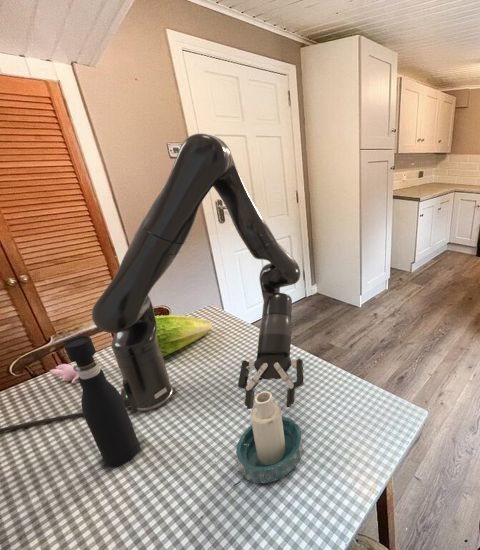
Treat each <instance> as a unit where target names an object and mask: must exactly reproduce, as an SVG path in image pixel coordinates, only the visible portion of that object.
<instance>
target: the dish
mask: <svg viewBox="0 0 480 550" xmlns="http://www.w3.org/2000/svg"><path fill="white" fill-rule="evenodd" d="M282 423H283V431H284V439H285V449H286V451H285V454H284V456H283V458H282V459H281V460H280V461H279V462H277V463H275V464H273V465H264V464H262V463H260V461H259V460H258V456H257V451H256V446H255V440H254V434H253V429H252V425H250V426H249V427H248V428H247V429H246V430H245V431H244V432H243V433H242V435H240V438H239V440H238V442H237V444H236V450H235V451H236V452H235V455H236V458H237V463H238V467H239V470H240V474H241V475H242V476H243V477H244V478H245V479H246V480H249V481H250V482H253V483H255V484H269V483H272V482H276V481H278V480H280V479H283V478H284V477H286V476H287V475H288V474H290V472H291V471H293V469H295V467H296V466H297V464H298V463H299V461H300V459H301V457H302V453H303V441H302V439H303V438H302V430H301V428H300V426H299V424H298V423H297V422H295V421H294V420H293V419H292V418H289V417H286V416H282Z"/></svg>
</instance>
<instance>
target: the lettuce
mask: <svg viewBox="0 0 480 550" xmlns="http://www.w3.org/2000/svg"><path fill="white" fill-rule="evenodd" d="M155 318H156V323H157V339H158V343H159V346H160V349H161V353H162V356H163V358H164V357H166V356H168V355H170V354H173V353H175V352H177V351H179V350H181V349H183V348H185V347H187V346H188V345H190V344H192V343H194V342H196V341H197V340H199V339H201V338H202V337H203V336H205V335H206V334H208V333H209V332H210V331H211V330H212V328H213V325H212V323H211V321H210V320H208V319H204V318H198V317H194V316H190V315H189V316H188V315H181V314H179V315H177V314H163V315H155Z"/></svg>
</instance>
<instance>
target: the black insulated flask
mask: <svg viewBox="0 0 480 550" xmlns="http://www.w3.org/2000/svg"><path fill="white" fill-rule="evenodd" d="M63 348H64V351H65V353H66V355H67V358H68V360H69V362H72V363H73V362H74V363H76V365H77V367H78V369H77V373H78V374H79V375H78V376H79V378H78V379H77V380H78V382H79V384H80V388H81V389H82V393H81V401H80V402H81V403H80V404H81V411H82V412H83V415H84V416H83V417H84V420H85V422H86V424H87V426H88V428H89V431H90V433H91V435H92V438H93V440H94V442H95V445H96V446H97V449H98V451H99V454H100V456H101V457H102V460H103V463H104V465H105V466H106V467H108V468H115V467H119V466H120V467H121V466H122V465H124V464H127V463H128V462H129V461H131V460H132V459H133V458H135V457H136V455H137V454H138V452H139V451H140V448H141V444H140V441H139V439H138V436H137V433H136V430H135V428H134V426H133V423H132V420H131V418H130V414H129V412H128V410H127V407H126V406H125V404H124V401H123V398H122V396H121V392H120V391H118V389H117V388H116V386H114V385H113V384H112V383H111V382H110V381H108V380H107V377H106V375H105V373H104V370H103V369H102V368H101V367H100V364H99V363H98V362H96V360H95V358H94V355H96V352H97V350H96V348H95V345H94V342H93V340H92V338H91V337H90V336H88V335H84V336H77V337H73V338H72V339H70V340H68V341H66V342H65V343H64V344H63ZM82 412H81V413H82Z"/></svg>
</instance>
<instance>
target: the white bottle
mask: <svg viewBox="0 0 480 550" xmlns="http://www.w3.org/2000/svg"><path fill="white" fill-rule="evenodd" d="M254 405H255V407H253V409H251V412H250V417H249V418H250V422H251V426H252V429H253V434H254V440H255V446H256V451H257V456H258V460H259V461H260V463H262V464H264V465H273V464H275V463H277V462H279V461H280V460H281V459H282V458H283V456H284V454H285V451H286V449H285V439H284V431H283V423H282V409H281V408H282V407H281V406H280V404H279V403H277V402H275V401H274V398H273V394H272V392H271V391H261V392H259V393H257V394H256V395H255V396H254Z"/></svg>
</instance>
